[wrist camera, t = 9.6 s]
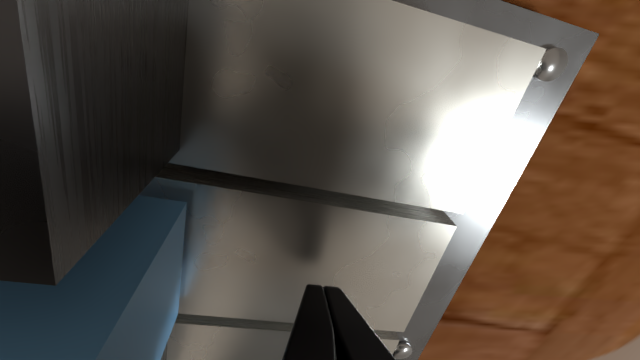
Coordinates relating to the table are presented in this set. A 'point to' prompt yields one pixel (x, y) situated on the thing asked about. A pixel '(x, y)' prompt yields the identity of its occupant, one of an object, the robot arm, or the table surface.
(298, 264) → the breaker board
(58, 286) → the blue toggle
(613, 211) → the table surface
